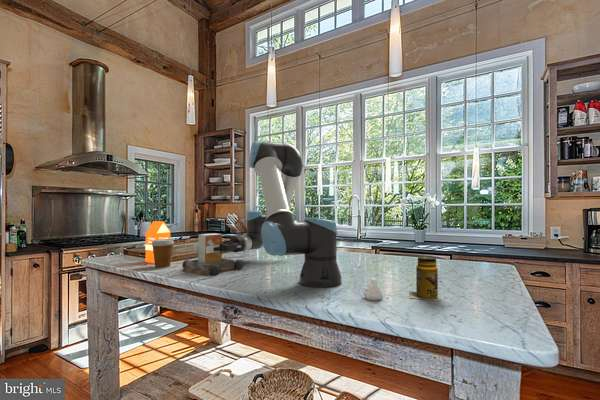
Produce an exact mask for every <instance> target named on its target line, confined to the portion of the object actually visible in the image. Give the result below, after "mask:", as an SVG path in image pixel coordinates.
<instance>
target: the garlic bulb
mask: <svg viewBox="0 0 600 400" xmlns="http://www.w3.org/2000/svg"><path fill="white" fill-rule="evenodd" d="M377 281H378V280H377V279H376V278H375V277H372V278H370V281H369V283H367V285H366V286H365V288H364V290H363V296H364V297H365V300H369V301H379V300H380V301H381V300H382V299H383V291H382V288H381V287H380V286H379V284H378V282H377Z"/></svg>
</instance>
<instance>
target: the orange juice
mask: <svg viewBox="0 0 600 400" xmlns="http://www.w3.org/2000/svg"><path fill="white" fill-rule="evenodd" d="M159 239H171V230H170V229H169V227H168V226H167V224H166V223H165V221H160V220H159V221H158V220H157V221H156V220H153V221H152V222H151V224H150V226H149V227H148V228H147V230H146V232H145V249H144V250H145V258H144V259H145V263H150V264H151V263H152V264H155V262H154V254H153V246H152V244H151V243H152V241H153V240H159Z"/></svg>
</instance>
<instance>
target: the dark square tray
mask: <svg viewBox="0 0 600 400" xmlns="http://www.w3.org/2000/svg"><path fill="white" fill-rule="evenodd" d="M181 265H182V272H186V273H192V274H197V275H203V276H207V277H208V275H209V276H213V275H214V276H218V275H219V274H220V273H221V274H222V273H225V272H230V271H234V270H242V269H243V268H244V266H245V263H244V261H243V260H241V259H236V260H234V259H230V258H229V259H228V258H222V262H218V263H213V264H202V263H198V259H194V260H193V259H191V260H189V259H185V260H184V261H183V262H182V264H181Z"/></svg>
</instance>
